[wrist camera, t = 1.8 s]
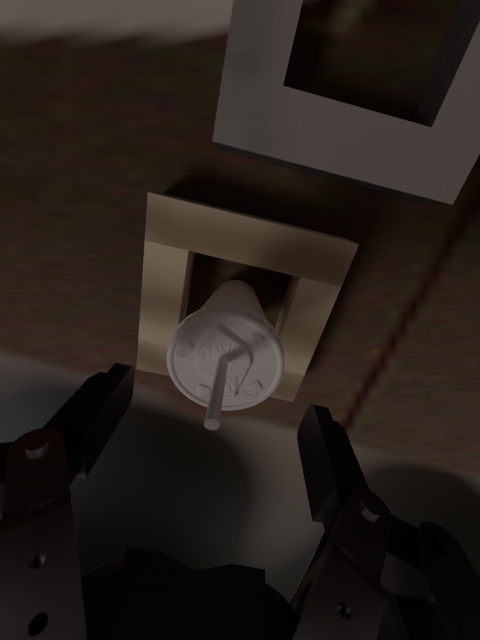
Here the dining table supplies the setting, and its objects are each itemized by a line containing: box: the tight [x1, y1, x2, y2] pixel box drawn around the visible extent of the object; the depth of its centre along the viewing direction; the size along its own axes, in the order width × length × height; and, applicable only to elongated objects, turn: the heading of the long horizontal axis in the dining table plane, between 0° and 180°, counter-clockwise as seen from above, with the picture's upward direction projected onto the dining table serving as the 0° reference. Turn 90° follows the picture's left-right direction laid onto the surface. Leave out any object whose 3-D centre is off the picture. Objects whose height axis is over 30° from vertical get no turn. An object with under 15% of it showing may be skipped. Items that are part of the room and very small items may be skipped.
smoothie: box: [167, 280, 285, 430], centre depth 16 cm, size 6×6×14 cm
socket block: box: [137, 192, 359, 402], centre depth 21 cm, size 14×14×3 cm
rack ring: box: [213, 0, 480, 205], centre depth 14 cm, size 15×15×3 cm
